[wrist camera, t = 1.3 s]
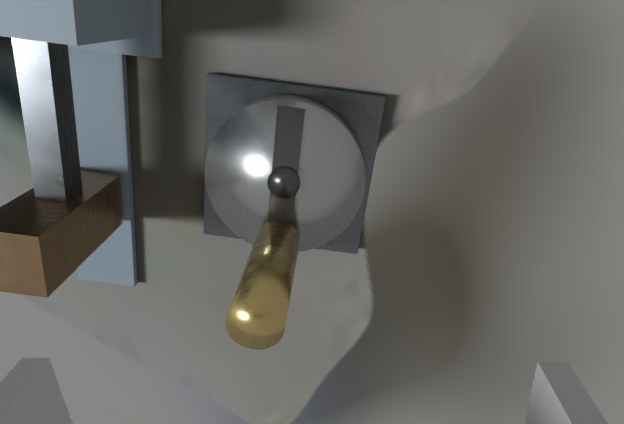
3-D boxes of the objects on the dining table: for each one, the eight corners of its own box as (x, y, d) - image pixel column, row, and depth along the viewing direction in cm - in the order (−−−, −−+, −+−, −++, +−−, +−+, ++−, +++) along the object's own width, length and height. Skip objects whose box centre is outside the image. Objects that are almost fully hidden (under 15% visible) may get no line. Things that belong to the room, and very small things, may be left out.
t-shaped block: (166, 286, 35) (114, 371, 27) (52, 271, 35) (-36, 351, 27) (160, -33, 26) (77, -52, 18) (6, -53, 26) (-148, -81, 18)
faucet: (212, 84, 27) (143, 126, 18) (376, 106, 27) (396, 159, 18) (209, 235, 32) (151, 335, 22) (350, 254, 32) (354, 362, 22)
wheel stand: (210, 72, 28) (205, 74, 27) (384, 95, 28) (386, 98, 27) (206, 228, 33) (202, 235, 32) (356, 248, 33) (357, 255, 32)
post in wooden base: (122, 223, 32) (47, 297, 24) (72, 216, 32) (-21, 288, 24) (104, -66, 25) (-14, -103, 16) (39, -74, 25) (-112, -116, 16)
